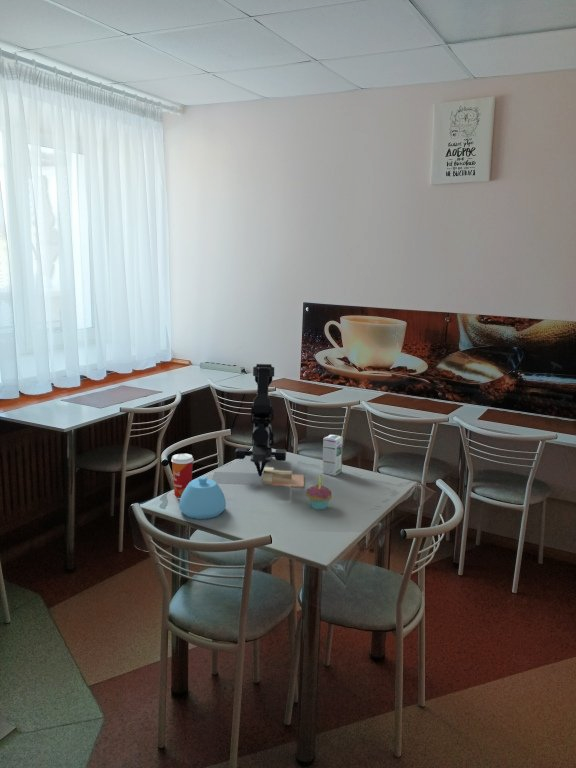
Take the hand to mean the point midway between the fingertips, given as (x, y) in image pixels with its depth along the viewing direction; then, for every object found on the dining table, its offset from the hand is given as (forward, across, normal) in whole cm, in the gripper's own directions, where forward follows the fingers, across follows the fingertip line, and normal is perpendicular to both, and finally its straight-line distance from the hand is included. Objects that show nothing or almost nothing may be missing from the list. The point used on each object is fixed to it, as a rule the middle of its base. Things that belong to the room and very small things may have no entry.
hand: (260, 476), depth 234 cm
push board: (+2, -1, 0) cm, 2 cm away
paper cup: (+2, -26, -17) cm, 31 cm away
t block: (+1, +6, 0) cm, 7 cm away
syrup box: (+2, +27, +11) cm, 29 cm away
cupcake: (+2, +21, -23) cm, 31 cm away
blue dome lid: (+2, -16, -30) cm, 34 cm away
